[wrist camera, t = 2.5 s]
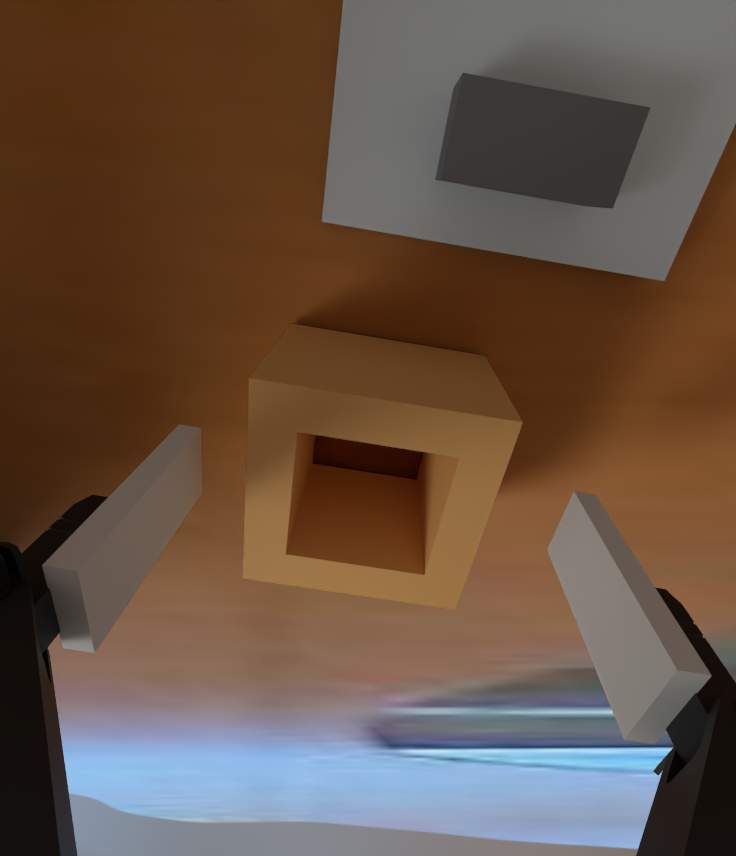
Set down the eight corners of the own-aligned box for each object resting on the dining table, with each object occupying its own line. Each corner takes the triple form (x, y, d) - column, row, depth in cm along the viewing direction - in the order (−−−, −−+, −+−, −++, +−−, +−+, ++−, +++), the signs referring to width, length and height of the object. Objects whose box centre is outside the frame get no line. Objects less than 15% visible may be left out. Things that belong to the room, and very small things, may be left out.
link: (278, 484, 22) (242, 578, 16) (290, 323, 18) (249, 378, 13) (440, 509, 22) (455, 609, 17) (485, 355, 18) (523, 422, 13)
